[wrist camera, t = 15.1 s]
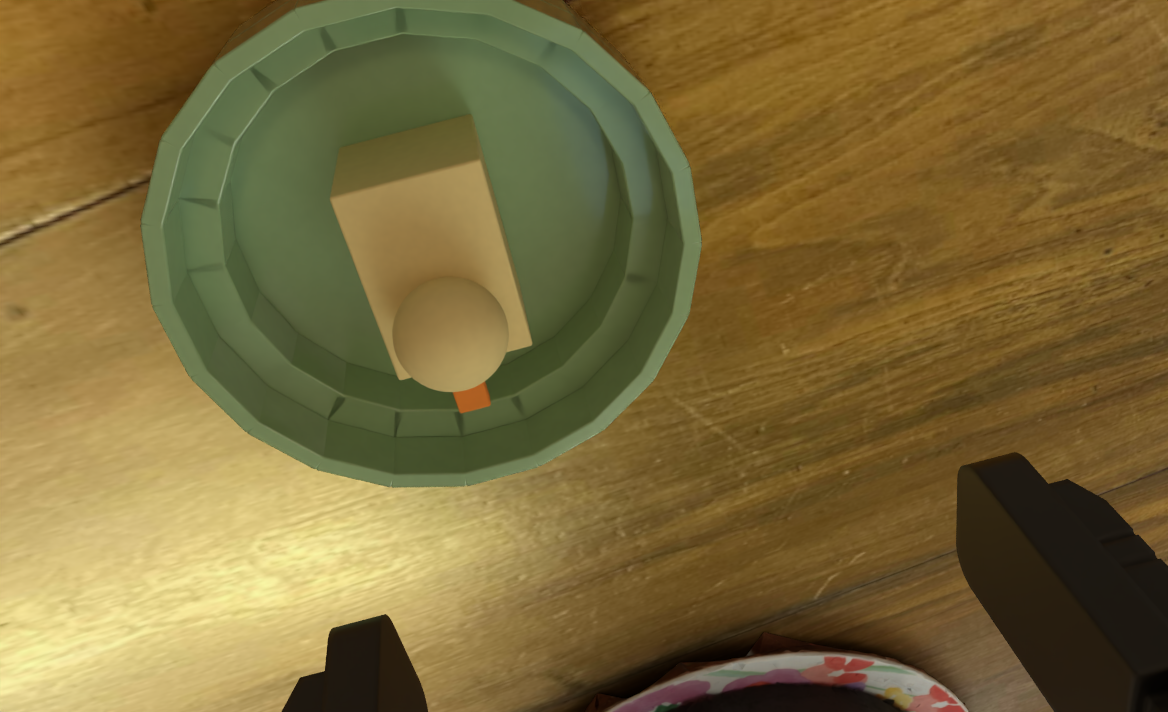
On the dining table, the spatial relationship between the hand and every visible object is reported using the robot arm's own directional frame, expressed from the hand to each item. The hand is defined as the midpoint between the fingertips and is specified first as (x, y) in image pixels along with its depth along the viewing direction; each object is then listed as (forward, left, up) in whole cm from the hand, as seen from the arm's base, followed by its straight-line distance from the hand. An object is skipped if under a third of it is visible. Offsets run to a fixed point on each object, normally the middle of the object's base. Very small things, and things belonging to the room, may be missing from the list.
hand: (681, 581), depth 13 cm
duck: (+3, -4, -21) cm, 21 cm away
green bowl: (+2, -4, -22) cm, 22 cm away
